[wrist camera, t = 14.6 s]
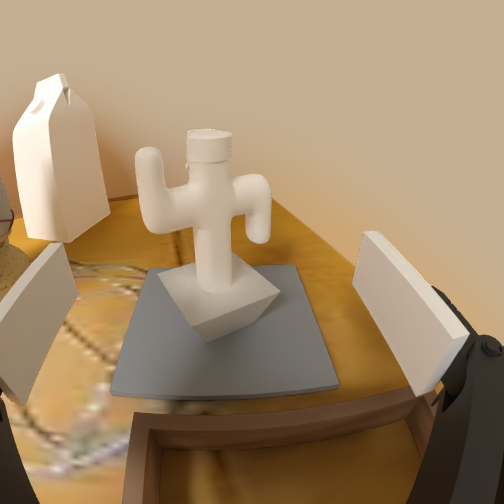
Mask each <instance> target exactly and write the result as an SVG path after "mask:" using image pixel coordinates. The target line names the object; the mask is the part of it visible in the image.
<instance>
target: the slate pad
mask: <svg viewBox="0 0 504 504" xmlns="http://www.w3.org/2000/svg"><path fill="white" fill-rule="evenodd" d="M251 267H252V268H253V269H254V270H256V271H257V272H258V273H259V274H261V275H262V276H263V277H264V278H265V279H267V280H268V281H269V282H270V283H272V284H273V285H274V286H275V287H276V288H278V289H279V290H280V291H281V292H280V293H279V294H278V295H277V296H276V298H275V299H274V300H273V301H272V302H271V303H270V305H269V306H268V307H267V308H266V309H265V310H264V312H263V313H262V314H261V315H260V316H259V317H258V318H257V320H256V321H255V322H254V323H253V324H250V325H248V326H246V327H243V328H241V329H239V330H236V331H234V332H232V333H229V334H227V335H225V336H222V337H220V338H217V339H215V340H213V341H210V342H208V343H206V342H205V341H204V340H203V339H202V338H201V337H200V336H199V335H198V334H197V333H196V332H195V331H194V329H193V328H192V327H191V326H190V325H189V323H188V322H187V320H186V319H185V317H184V316H183V314H182V313H181V311H180V310H179V308H178V306H177V305H176V303H175V302H174V300H173V299H172V297H171V296H170V294H169V293H168V291H167V289H166V288H165V286H164V285H163V283H162V281H161V280H160V278H159V276H158V275H157V273H161V272H164V271H167V270H171V269H174V268H155V269H149V270H148V273H147V275H146V278H145V281H144V284H143V286H142V289H141V292H140V295H139V297H138V300H137V303H136V306H135V309H134V312H133V315H132V318H131V321H130V324H129V327H128V330H127V333H126V336H125V339H124V342H123V346H122V349H121V352H120V356H119V359H118V362H117V366H116V369H115V373H114V376H113V380H112V384H111V388H110V392H111V394H112V395H115V396H125V397H136V398H149V399H167V400H234V399H253V398H266V397H278V396H288V395H296V394H304V393H312V392H319V391H325V390H332V389H338V386H339V381H338V378H337V375H336V373H335V370H334V367H333V364H332V361H331V359H330V356H329V353H328V350H327V348H326V345H325V342H324V340H323V337H322V334H321V331H320V329H319V326H318V323H317V321H316V318H315V316H314V313H313V310H312V308H311V305H310V302H309V300H308V297H307V295H306V292H305V289H304V287H303V284H302V282H301V279H300V277H299V274H298V272H297V269H296V267H295V264H280V265H253V266H251Z"/></svg>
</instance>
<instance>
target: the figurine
mask: <svg viewBox="0 0 504 504" xmlns="http://www.w3.org/2000/svg"><path fill="white" fill-rule="evenodd" d="M231 145H232V134H231V133H229V132H225V131H218V130H217V131H216V130H214V129H213V128H211V129H198V130H190V131H188V133H187V160H188V162H187V163H186V170H187V171H188V172H189V180H188V183H187V184H186V185H183V186H179V187H174V188H167V187H166V184H165V179H164V170H163V159H162V155H161V153H160V151H159V150H158V149H157V148H154V147H144V148H142V149H140V150H138V152H137V153H136V156H135V169H136V179H137V187H138V196H139V203H140V209H141V214H142V218H143V221H144V224H145V226H146V227H147V229H148V230H149V231H150V232H152V233H154V234H166V233H170V232H173V231H177V230H181V229H185V228H189V227H193V237H194V248H195V258H196V262H194V263H190V264H187V265H184V266H181V267H177V268H174V269H171V270H167V271H164V272H161V273H157V275H158V276H159V278H160V280H161V281H162V283H163V285H164V286H165V288H166V289H167V291H168V293H169V294H170V296H171V297H172V299H173V300H174V302H175V303H176V305H177V306H178V308H179V310H180V311H181V313H182V314H183V316H184V317H185V319H186V320H187V322H188V323H189V325H190V326H191V327H192V328H193V329H194V331H195V332H196V333H197V334H198V335H199V336H200V337H201V338H202V339H203V340H204V341H205V342H206V343H208V342H210V341H213V340H215V339H217V338H220V337H222V336H225V335H227V334H229V333H232V332H234V331H236V330H239V329H241V328H243V327H246V326H248V325H250V324H253V323H254V322H255V321H256V320H257V318H258V317H259V316H260V315H261V314H262V313H263V312H264V310H265V309H266V308H267V307H268V306H269V305H270V303H271V302H272V301H273V300H274V299H275V298H276V296H277V295H278V294H279V293H280V292H281V291H280V290H279V289H278V288H276V287H275V286H274V285H273V284H272V283H270V282H269V281H268V280H267V279H265V278H264V277H263V276H262V275H261V274H259V273H258V272H257V271H256V270H254V269H253V268H252V267H251V266H250V265H248V264H247V263H246V262H245V261H243V260H242V259H241V258H240V257H239V256H237V255H236V254H235V253H234V252H233V251H231V220H232V218H233V217H234V216H238V215H243V214H245V230H246V235H247V237H248V239H249V240H250V241H252V242H254V243H257V244H264V243H266V242H268V240H269V238H270V230H271V205H272V197H271V189H270V185H269V182H268V181H267V179H266V178H265V177H264V176H262V175H259V174H249V175H243V176H236V177H230V158H231V148H232V146H231Z"/></svg>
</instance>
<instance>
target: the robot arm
mask: <svg viewBox="0 0 504 504" xmlns="http://www.w3.org/2000/svg"><path fill="white" fill-rule="evenodd" d="M352 285H353V286H354V288H355V289H356V291H357V293H358V294H359V296H360V298H361V299H362V301H363V302H364V304H365V306H366V307H367V309H368V311H369V312H370V314H371V316H372V318H373V319H374V321H375V323H376V324H377V326H378V328H379V330H380V331H381V333H382V335H383V337H384V338H385V340H386V342H387V344H388V345H389V347H390V349H391V351H392V353H393V354H394V356H395V358H396V360H397V362H398V363H399V365H400V367H401V369H402V371H403V373H404V375H405V377H406V378H407V380H408V382H409V384H410V386H411V388H412V390H413V392H414V394H415V396H416V397H417V396H420V395H422V394H425V393H428V392H431V391H433V390H434V388H435V387H436V386H437V384H438V383H439V381H440V380H441V381H442V383H443V385H444V387H443V389H442V390H441V391H440V393H439V394H438V395H437V396H436V398H435V399H434V400H433V402H432V404H431V406H434V405H435V404H436V402H437V401H438V400H439V402H438V406H437V411H436V415H435V419H434V423H433V427H432V431H431V435H430V438H429V442H428V445H427V448H426V451H425V455H424V458H423V461H422V464H421V467H420V469H419V472H418V475H417V478H416V480H415V483H414V486H413V488H412V491H411V493H410V495H409V498H408V500H407V502H406V504H504V346H502V345H501V344H500V342H499V341H498V340H496V339H495V338H493V337H491V336H489V335H478V334H477V333H476V331H475V330H474V329H473V328H472V327H471V325H470V324H469V323H468V321H467V320H466V319H465V318H464V317H463V316H462V314H461V313H460V312H459V311H457V308H456V307H455V306H454V305H453V304H451V301H450V300H449V299H448V298H447V297H446V295H445V294H444V293H443V292H441V291H440V290H438V289H437V288H435V287H434V286H430V285H429V284H428V283H427V282H426V281H425V279H424V278H423V277H422V276H421V275H420V274H419V273H418V272H417V271H416V269H415V268H414V267H413V266H412V265H411V264H410V263H409V262H408V261H407V260H406V259H405V258H404V257H403V256H402V255H401V254H400V253H399V252H398V251H397V249H396V248H395V247H394V246H393V245H392V244H391V243H390V242H389V241H388V240H387V239H386V238H385V237H384V236H383V235H382V234H381V233H380V232H378V231H363V235H362V240H361V245H360V250H359V255H358V259H357V264H356V269H355V273H354V277H353V282H352ZM78 295H79V291H78V288H77V285H76V283H75V280H74V277H73V274H72V271H71V268H70V264H69V261H68V258H67V255H66V251H65V248H64V244H63V242H61V243H50V244H49V245H48V246H47V247H46V248H45V249H44V250H43V252H42V253H41V254H40V255H39V256H38V257H37V258H36V259H35V260H34V262H33V263H32V264H31V265H30V266H29V267H28V268H27V270H26V271H25V272H24V273H23V274H22V276H21V277H20V278H19V279H18V280H17V282H16V283H15V284H14V285H13V287H12V288H11V289H10V290H9V292H8V293H7V294H6V295H5V297H4V298H3V299H2V301H1V302H0V396H1V394H2V391H3V392H4V394H5V395H6V396H7V397H8V398H9V399H10V401H12V402H15V403H18V404H21V405H24V406H25V405H26V402H27V400H28V397H29V395H30V392H31V390H32V387H33V385H34V382H35V380H36V378H37V375H38V373H39V371H40V369H41V366H42V364H43V362H44V360H45V358H46V356H47V353H48V351H49V349H50V347H51V345H52V343H53V341H54V339H55V337H56V335H57V333H58V331H59V329H60V327H61V325H62V323H63V322H64V320H65V318H66V316H67V314H68V312H69V310H70V309H71V307H72V305H73V303H74V302H75V300H76V298H77V296H78ZM0 504H40V503H39V501H38V499H37V497H36V495H35V493H34V490H33V488H32V486H31V484H30V481H29V479H28V476H27V474H26V471H25V469H24V466H23V464H22V461H21V458H20V455H19V453H18V450H17V447H16V444H15V440H14V437H13V434H12V430H11V427H10V423H9V419H8V415H7V411H6V407H5V404H4V401H3V400H2V399H1V397H0Z"/></svg>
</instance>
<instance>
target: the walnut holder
mask: <svg viewBox="0 0 504 504" xmlns="http://www.w3.org/2000/svg"><path fill="white" fill-rule="evenodd" d="M436 396H437V394H436V392H435V390H433V391H431V392H428V393H425V394H422V395H420V396H417V397H416V396H415V394H414V392H413V390H412V388H411V386H408V387H404V388H401V389H397V390H393V391H390V392H386V393H382V394H378V395H374V396H369V397H365V398H360V399H356V400H351V401H346V402H341V403H335V404H330V405H324V406H318V407H311V408H304V409H296V410H288V411H279V412H268V413H255V414H238V415H169V414H152V413H140V412H134V416H133V422H132V428H131V434H130V441H129V448H128V455H127V463H126V471H125V480H124V489H123V500H122V504H159V488H160V470H161V455H162V448H166V449H183V450H236V449H254V448H266V447H276V446H285V445H293V444H300V443H306V442H313V441H318V440H324V439H329V438H334V437H339V436H344V435H348V434H353V433H357V432H361V431H365V430H369V429H372V428H376V427H379V426H383V425H386V424H390V423H393V422H396V421H399V420H402V419H406V422H407V424H408V426H409V429H410V431H411V433H412V436H413V438H414V440H415V443H416V445H417V448H418V450H419V453H420V455H421V458H422V460H423V458H424V455H425V451H426V448H427V445H428V442H429V438H430V435H431V431H432V427H433V423H434V419H435V415H436V411H437V406H438V402H439V400H438V401H437V402H436V404H435V405H434V406H431V404H432V402H433V400H434V399H435V398H436Z"/></svg>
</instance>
